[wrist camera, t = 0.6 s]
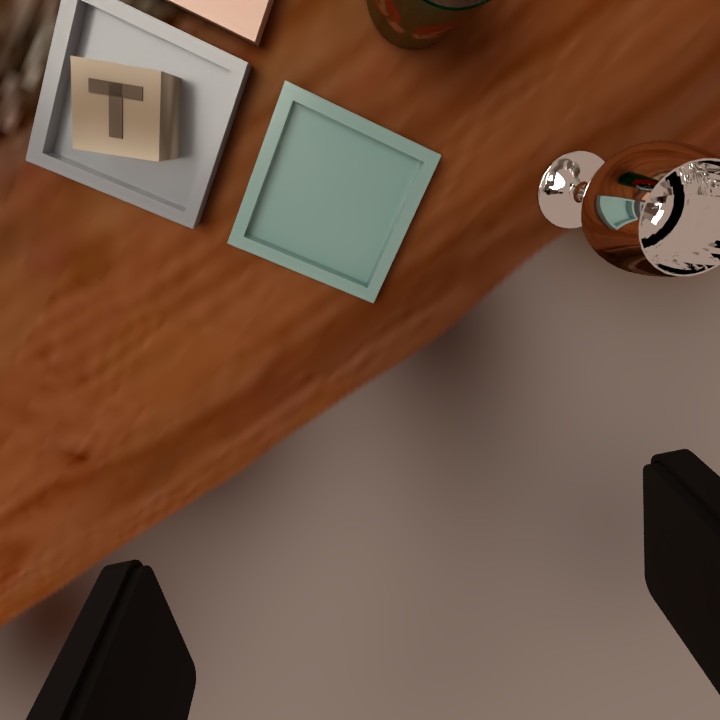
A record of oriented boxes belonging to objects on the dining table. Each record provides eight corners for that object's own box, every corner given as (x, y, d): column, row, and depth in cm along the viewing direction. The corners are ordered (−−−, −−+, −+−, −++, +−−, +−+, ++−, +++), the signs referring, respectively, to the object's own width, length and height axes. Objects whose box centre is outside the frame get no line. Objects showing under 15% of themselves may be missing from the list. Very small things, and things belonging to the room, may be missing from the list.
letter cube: (102, 64, 30) (69, 55, 26) (181, 78, 30) (160, 70, 26) (103, 146, 31) (72, 148, 27) (178, 158, 32) (158, 162, 28)
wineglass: (553, 257, 35) (657, 315, 24) (509, 176, 33) (600, 199, 22) (638, 203, 34) (787, 238, 23) (598, 117, 33) (740, 109, 21)
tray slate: (81, -16, 29) (66, -25, 27) (252, 66, 31) (247, 62, 29) (41, 158, 32) (25, 160, 30) (199, 224, 33) (192, 229, 32)
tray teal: (287, 83, 31) (285, 80, 29) (435, 154, 33) (441, 155, 31) (232, 237, 34) (227, 243, 32) (371, 295, 36) (373, 303, 34)
